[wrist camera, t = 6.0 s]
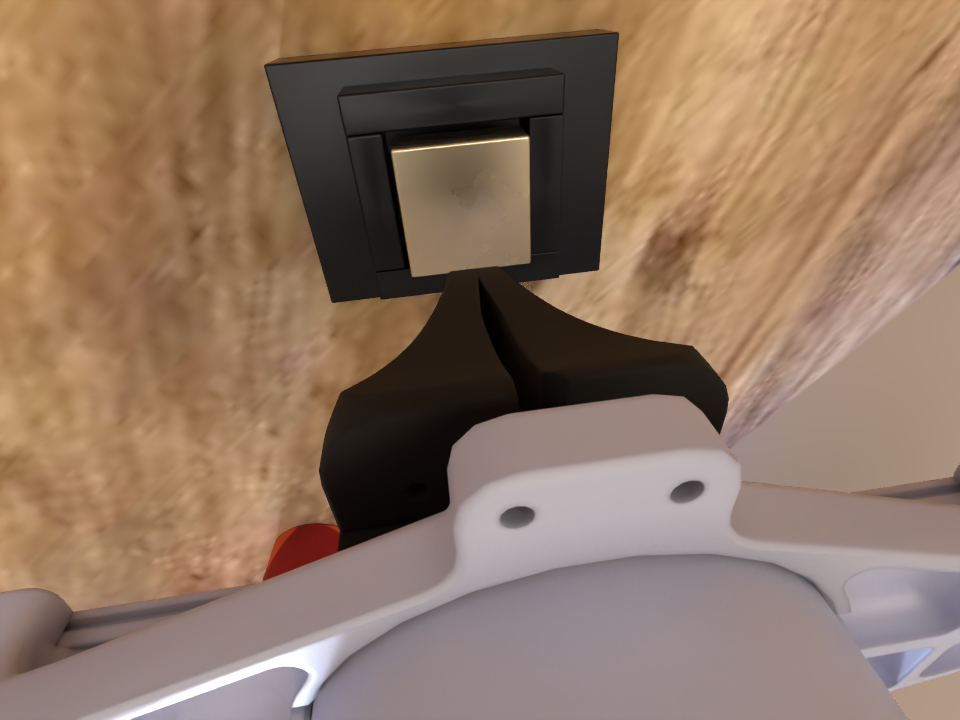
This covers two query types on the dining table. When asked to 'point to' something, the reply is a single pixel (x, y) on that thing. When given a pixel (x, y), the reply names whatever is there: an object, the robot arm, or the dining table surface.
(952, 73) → the dining table surface
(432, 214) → the switch
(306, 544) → the coffee cup
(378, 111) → the switch block
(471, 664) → the robot arm
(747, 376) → the dining table surface
